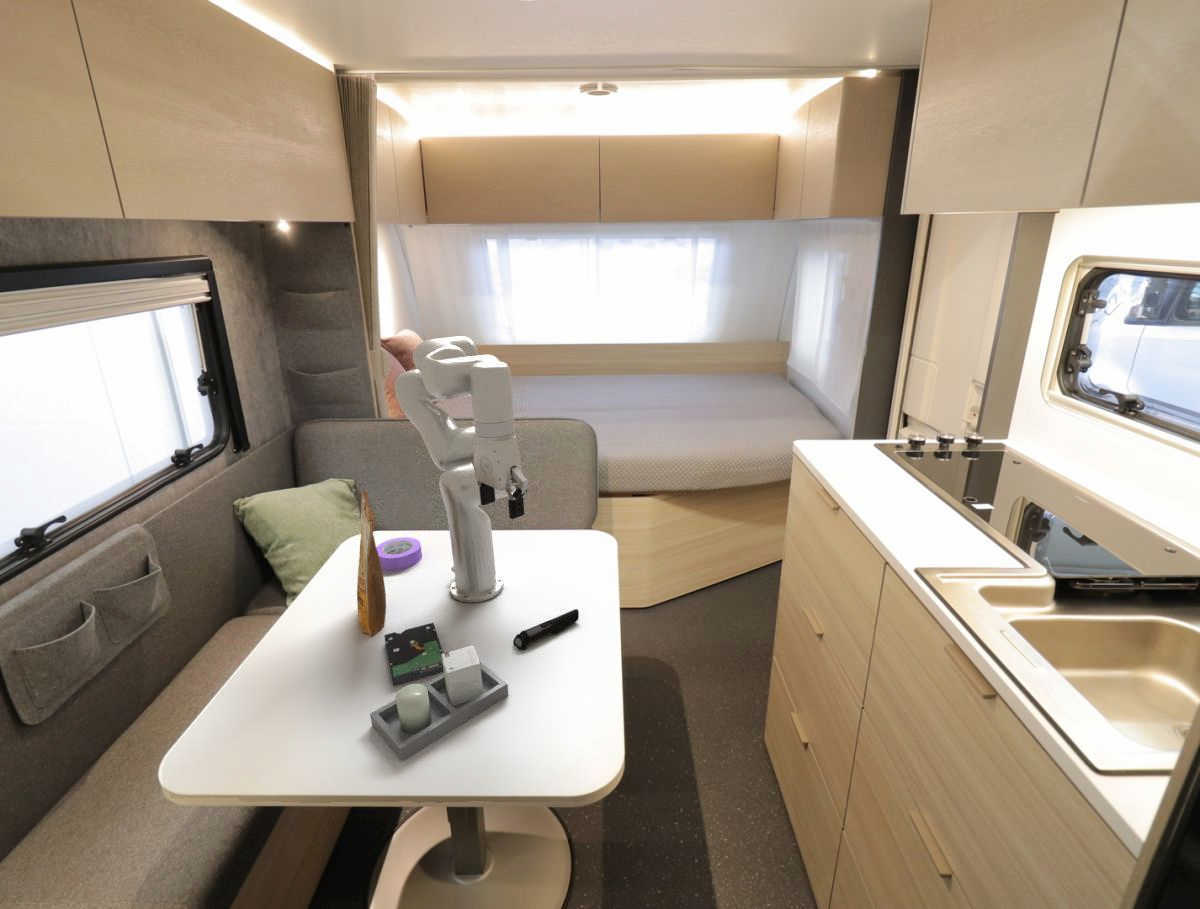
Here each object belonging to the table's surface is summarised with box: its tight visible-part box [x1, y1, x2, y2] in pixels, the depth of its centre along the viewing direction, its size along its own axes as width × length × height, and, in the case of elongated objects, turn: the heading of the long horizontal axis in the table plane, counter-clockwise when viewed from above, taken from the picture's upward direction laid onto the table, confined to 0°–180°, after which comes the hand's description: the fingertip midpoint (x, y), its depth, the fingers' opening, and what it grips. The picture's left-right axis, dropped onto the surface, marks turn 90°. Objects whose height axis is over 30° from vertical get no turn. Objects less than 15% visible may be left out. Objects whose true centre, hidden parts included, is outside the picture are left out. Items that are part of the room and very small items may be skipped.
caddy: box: [369, 660, 509, 762], centre depth 108 cm, size 21×11×3 cm, turn 134°
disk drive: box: [383, 622, 444, 687], centre depth 122 cm, size 10×3×15 cm
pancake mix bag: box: [356, 488, 387, 638], centre depth 132 cm, size 7×19×28 cm, turn 18°
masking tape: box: [376, 536, 423, 571], centre depth 161 cm, size 12×12×4 cm
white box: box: [442, 645, 484, 706], centre depth 110 cm, size 6×6×7 cm
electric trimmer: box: [512, 608, 580, 651], centre depth 128 cm, size 4×16×3 cm, turn 127°
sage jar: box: [395, 683, 432, 734], centre depth 104 cm, size 5×5×6 cm
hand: (502, 509), depth 121 cm, fingers open, 9 cm apart
